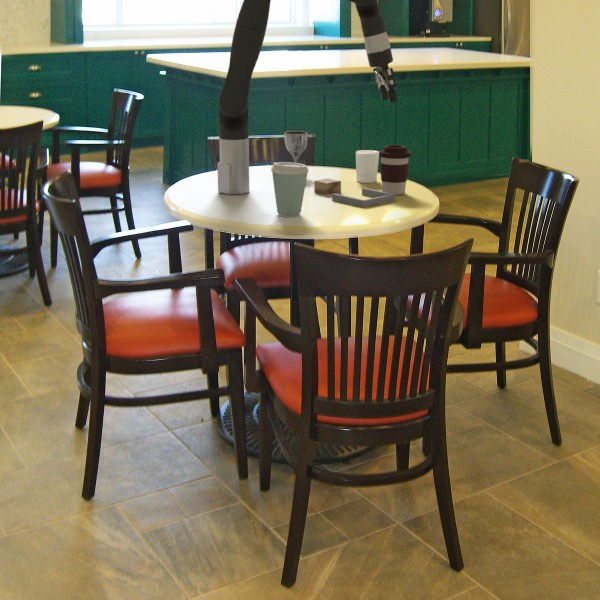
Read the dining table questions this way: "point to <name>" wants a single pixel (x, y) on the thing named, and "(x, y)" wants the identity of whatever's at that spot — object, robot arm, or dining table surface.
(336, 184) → the walnut block
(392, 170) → the coffee cup
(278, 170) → the disposable coffee cup
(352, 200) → the grey corral
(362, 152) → the white cup
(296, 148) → the wine glass
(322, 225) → the dining table surface
